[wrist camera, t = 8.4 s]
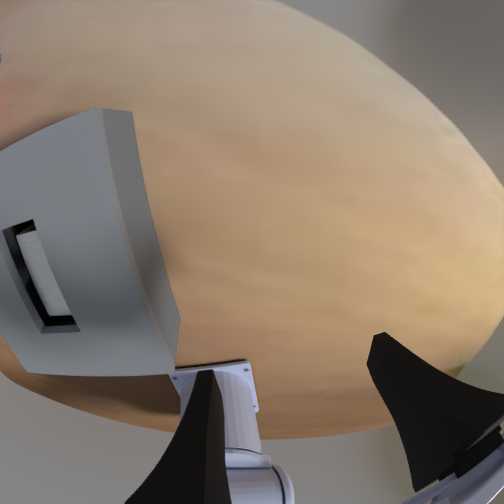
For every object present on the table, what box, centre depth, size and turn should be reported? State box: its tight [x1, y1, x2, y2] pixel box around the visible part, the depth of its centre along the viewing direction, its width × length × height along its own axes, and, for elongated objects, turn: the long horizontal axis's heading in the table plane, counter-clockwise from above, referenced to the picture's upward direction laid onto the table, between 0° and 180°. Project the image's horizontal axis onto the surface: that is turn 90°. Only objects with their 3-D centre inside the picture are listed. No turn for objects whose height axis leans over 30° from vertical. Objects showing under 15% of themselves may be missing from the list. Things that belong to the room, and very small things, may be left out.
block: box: [16, 223, 72, 316], centre depth 16 cm, size 6×2×5 cm, turn 5°
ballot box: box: [0, 108, 180, 376], centre depth 15 cm, size 16×14×6 cm
